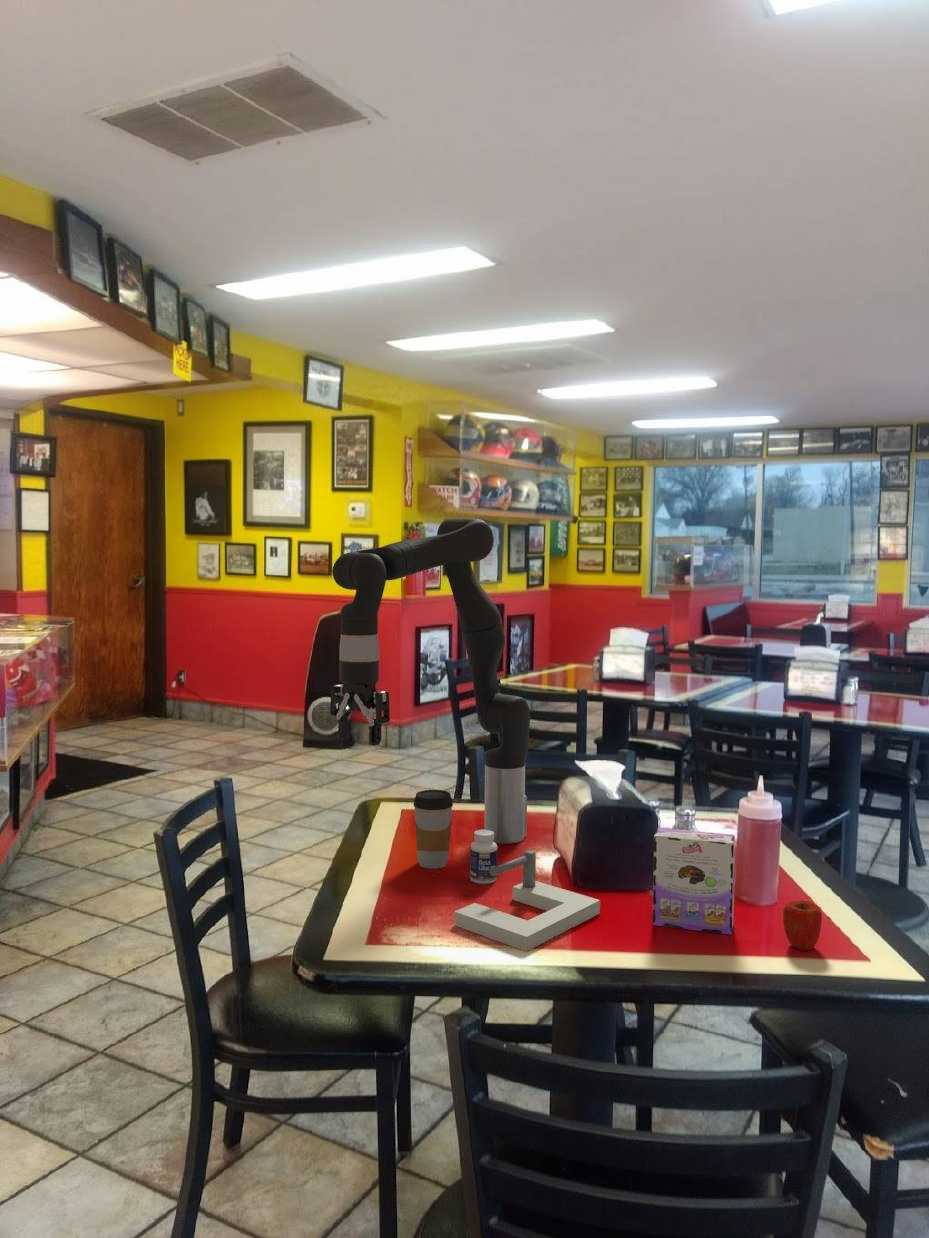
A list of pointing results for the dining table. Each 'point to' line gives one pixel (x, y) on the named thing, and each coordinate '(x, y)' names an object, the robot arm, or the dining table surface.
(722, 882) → the candy box
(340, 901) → the dining table surface
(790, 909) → the apple
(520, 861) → the grey u-shaped piece
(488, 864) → the pill bottle
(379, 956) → the dining table surface
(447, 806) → the coffee cup
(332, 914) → the dining table surface
